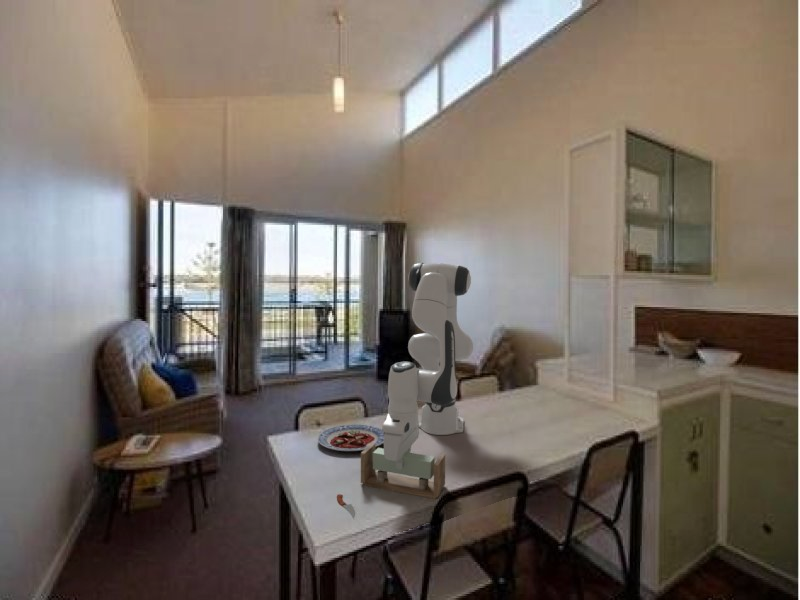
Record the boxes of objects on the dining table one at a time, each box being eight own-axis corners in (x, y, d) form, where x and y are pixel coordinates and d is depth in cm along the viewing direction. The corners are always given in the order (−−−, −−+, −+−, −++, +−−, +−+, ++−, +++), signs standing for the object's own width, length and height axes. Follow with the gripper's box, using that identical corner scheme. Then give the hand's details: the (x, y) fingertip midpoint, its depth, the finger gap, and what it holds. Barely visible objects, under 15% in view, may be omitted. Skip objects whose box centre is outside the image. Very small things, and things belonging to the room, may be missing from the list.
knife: (363, 515, 111) (353, 518, 110) (363, 517, 111) (353, 520, 110) (342, 492, 123) (333, 495, 121) (342, 494, 123) (333, 497, 121)
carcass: (371, 473, 135) (371, 443, 135) (445, 486, 127) (445, 454, 127) (360, 484, 128) (360, 452, 127) (437, 499, 120) (438, 465, 119)
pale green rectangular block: (378, 463, 132) (378, 447, 132) (434, 473, 126) (434, 456, 126) (372, 469, 129) (372, 452, 128) (430, 479, 122) (430, 462, 122)
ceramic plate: (376, 459, 146) (376, 451, 146) (306, 452, 151) (306, 444, 151) (394, 432, 171) (394, 425, 171) (333, 427, 176) (333, 420, 176)
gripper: (404, 406, 137) (404, 449, 138) (379, 428, 118) (379, 477, 119) (423, 409, 135) (423, 452, 136) (401, 431, 116) (401, 481, 117)
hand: (402, 464), depth 127 cm, fingers closed on pale green rectangular block, 4 cm apart
